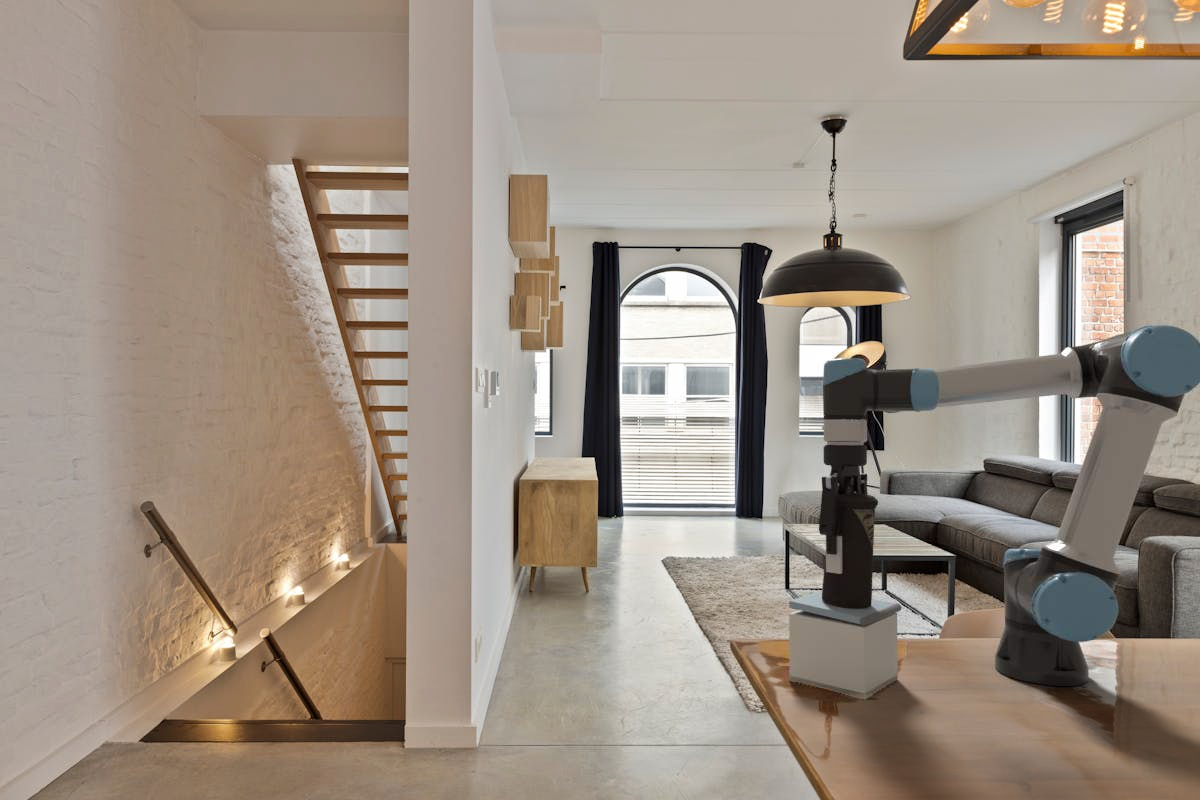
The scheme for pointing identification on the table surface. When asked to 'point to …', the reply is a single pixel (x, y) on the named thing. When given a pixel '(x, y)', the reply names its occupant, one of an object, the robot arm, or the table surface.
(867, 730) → the table surface
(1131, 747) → the table surface
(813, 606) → the lid
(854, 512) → the container
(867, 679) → the box
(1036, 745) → the table surface
